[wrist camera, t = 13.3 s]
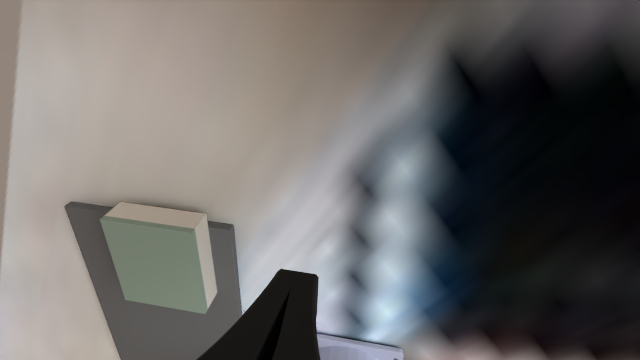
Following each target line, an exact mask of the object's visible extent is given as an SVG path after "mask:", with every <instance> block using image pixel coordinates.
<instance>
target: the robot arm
mask: <svg viewBox="0 0 640 360" xmlns="http://www.w3.org/2000/svg"><path fill="white" fill-rule="evenodd" d="M318 278H319V277H318V276H317V275H316V274H310V273H303V272H297V271H291V270H284V269H280V270H279V271H278V272H277V273H276V275H275V276H274V278H273V279H272V280H271V282H270V283H269V284H268V286H267V287H266V288H265V289H264V291H263V292H262V293H261V294H260V296H259V297H258V298H257V299H256V300H255V301H254V303H253V304H252V305H251V306H250V307H249V308H248V310H247V311H246V312H245V313H244V314H243V315H242V316H241V317H240V318H239V319H238V320H237V322H236V323H235V324H234V325H233V326H232V327H231V328H230V329H229V330H228V331H227V332H226V333H225V334H224V335H223V336H222V337H221V338H220V339H219V340H218V341H217V342H216V343H214V344H213V345H212V346H211V347H210V348H209V349H208V350H207V351H206V352H204V353H203V354H202V355H201V356H200V357H199V358H198V359H196V360H403V351H402V350H401V349H399V348H395V347H390V346H384V345H379V344H373V343H367V342H362V341H356V340H350V339H345V338H339V337H334V336H328V335H322V334H317V330H316V315H317V298H318Z"/></svg>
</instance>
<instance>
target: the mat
mask: <svg viewBox="0 0 640 360" xmlns="http://www.w3.org/2000/svg"><path fill="white" fill-rule="evenodd" d="M65 209H66V212H67V214H68V217H69V220H70V223H71V225H72V228H73V231H74V233H75V236H76V239H77V242H78V244H79V247H80V250H81V252H82V255H83V258H84V261H85V263H86V266H87V269H88V272H89V274H90V277H91V280H92V282H93V285H94V288H95V291H96V293H97V296H98V299H99V301H100V304H101V307H102V310H103V312H104V315H105V318H106V320H107V323H108V326H109V329H110V331H111V334H112V337H113V339H114V342H115V345H116V348H117V350H118V353H119V356H120V359H121V360H196V359H198V358H199V357H200V356H201V355H202V354H203V353H204V352H206V351H207V350H208V349H209V348H210V347H211V346H212V345H213V344H214V343H216V342H217V341H218V340H219V339H220V338H221V337H222V336H223V335H224V334H225V333H226V332H227V331H228V330H229V329H230V328H231V327H232V326H233V325H234V324H235V323H236V322H237V320H238V319H239V318H240V317H241V316H242V309H241V299H240V288H239V278H238V268H237V257H236V247H235V236H234V226H233V225H231V224H224V223H217V222H209V221H207V222H208V229H209V237H210V244H211V251H212V258H213V265H214V272H215V279H216V287H217V294H216V296H215V297H214V299H213V301H212V303H211V305H210V306H209V308H208V310H207V312H206V314H202V313H196V312H191V311H185V310H179V309H174V308H168V307H163V306H157V305H151V304H146V303H140V302H134V301H129V300H125V297H124V294H123V291H122V288H121V285H120V282H119V278H118V275H117V272H116V269H115V266H114V263H113V260H112V256H111V253H110V250H109V247H108V244H107V241H106V238H105V234H104V231H103V228H102V225H101V222H100V219H101V218H102V217H103V216H104V215H106V214H107V213H108V212H109V211H110V210H112V209H113V208H111V207H104V206H97V205H90V204H83V203H76V202H70V203H69V204H67V205H66V206H65Z"/></svg>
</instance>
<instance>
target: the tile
mask: <svg viewBox="0 0 640 360" xmlns="http://www.w3.org/2000/svg"><path fill="white" fill-rule="evenodd" d="M100 222H101V225H102V228H103V231H104V234H105V238H106V241H107V244H108V247H109V250H110V253H111V256H112V260H113V263H114V266H115V269H116V272H117V275H118V278H119V282H120V285H121V288H122V291H123V294H124V297H125V300H129V301H134V302H140V303H146V304H151V305H157V306H163V307H168V308H174V309H179V310H185V311H191V312H196V313H202V314H206V312H207V310H208V308H209V306H210V305H211V303H212V301H213V299H214V297H215V296H216V294H217V287H216V279H215V272H214V265H213V258H212V251H211V244H210V237H209V229H208V222H207V215H206V214H204V213H197V212H189V211H182V210H175V209H168V208H161V207H153V206H146V205H139V204H132V203H125V202H120V203H119V204H118V205H116V206H115V207H114V208H113V209H112V210H110V211H109V212H108V213H107V214H106V215H104V216H103V217H102V218H101V219H100Z"/></svg>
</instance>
